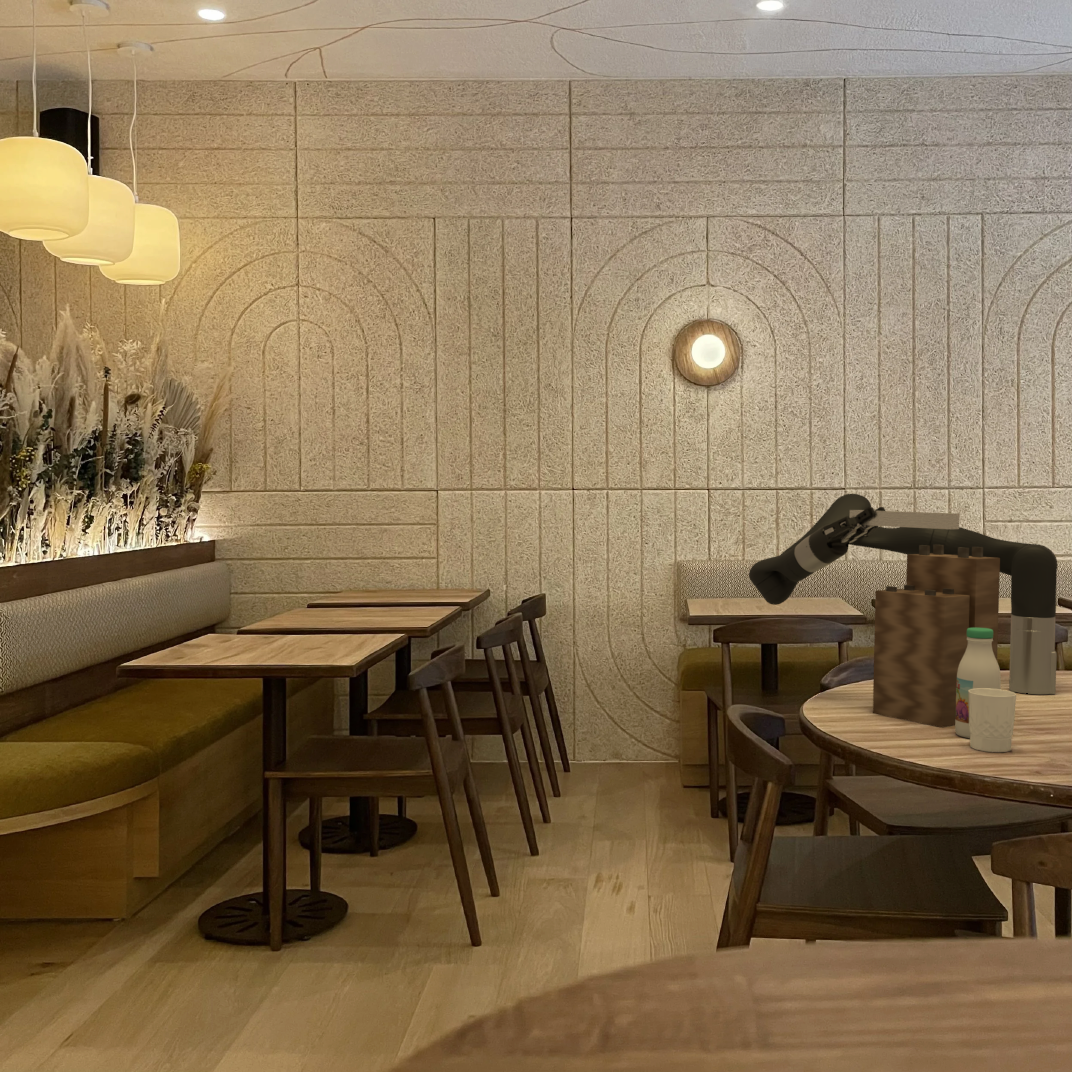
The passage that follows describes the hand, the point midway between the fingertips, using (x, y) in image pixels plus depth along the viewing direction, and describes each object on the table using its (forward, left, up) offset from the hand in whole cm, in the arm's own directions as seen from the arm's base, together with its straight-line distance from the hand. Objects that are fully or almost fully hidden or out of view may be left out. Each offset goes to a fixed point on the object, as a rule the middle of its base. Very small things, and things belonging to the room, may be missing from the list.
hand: (878, 511), depth 235 cm
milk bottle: (-17, +21, -41) cm, 50 cm away
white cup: (-18, +31, -41) cm, 55 cm away
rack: (-11, +3, -41) cm, 43 cm away
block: (-4, +4, -3) cm, 7 cm away
